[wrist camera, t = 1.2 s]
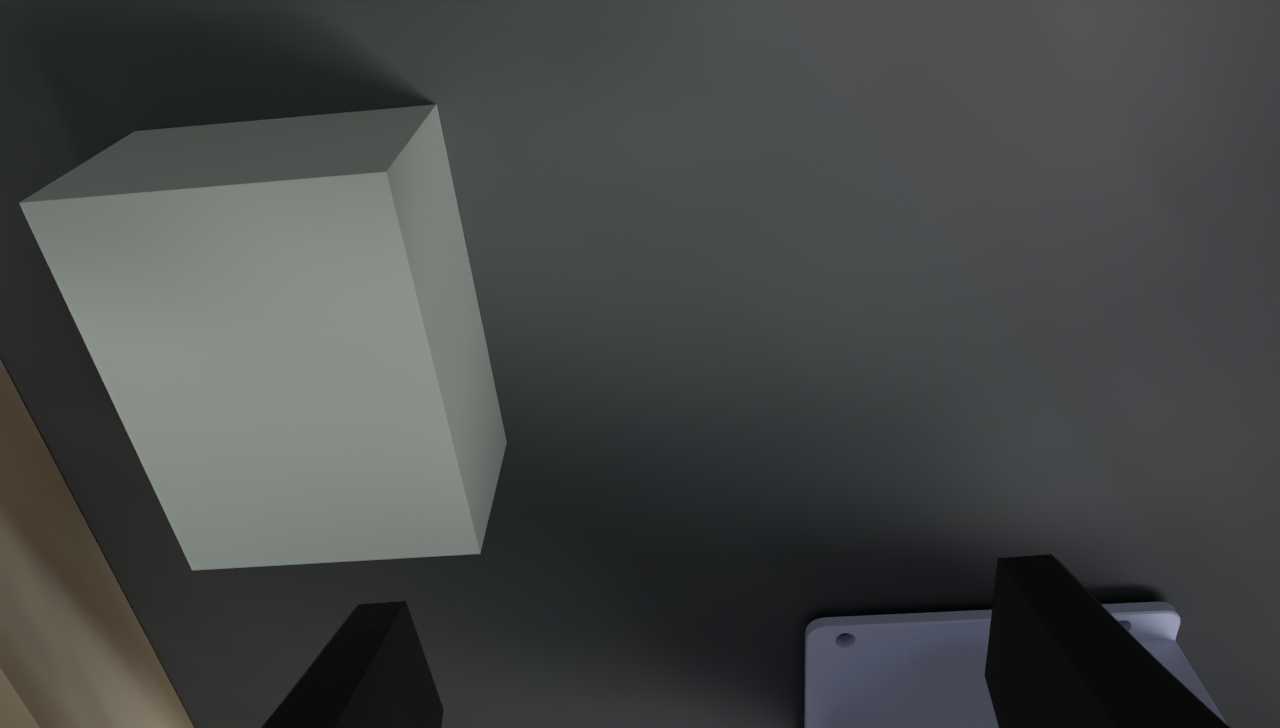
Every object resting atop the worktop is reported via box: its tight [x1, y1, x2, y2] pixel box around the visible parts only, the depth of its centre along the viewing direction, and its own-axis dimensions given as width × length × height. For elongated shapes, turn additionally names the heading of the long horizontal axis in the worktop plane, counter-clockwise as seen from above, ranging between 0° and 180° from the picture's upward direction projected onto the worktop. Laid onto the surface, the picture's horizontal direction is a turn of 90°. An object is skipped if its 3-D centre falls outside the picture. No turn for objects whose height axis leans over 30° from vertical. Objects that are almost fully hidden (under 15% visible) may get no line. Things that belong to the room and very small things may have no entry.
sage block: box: [19, 104, 507, 570], centre depth 18 cm, size 6×8×4 cm
